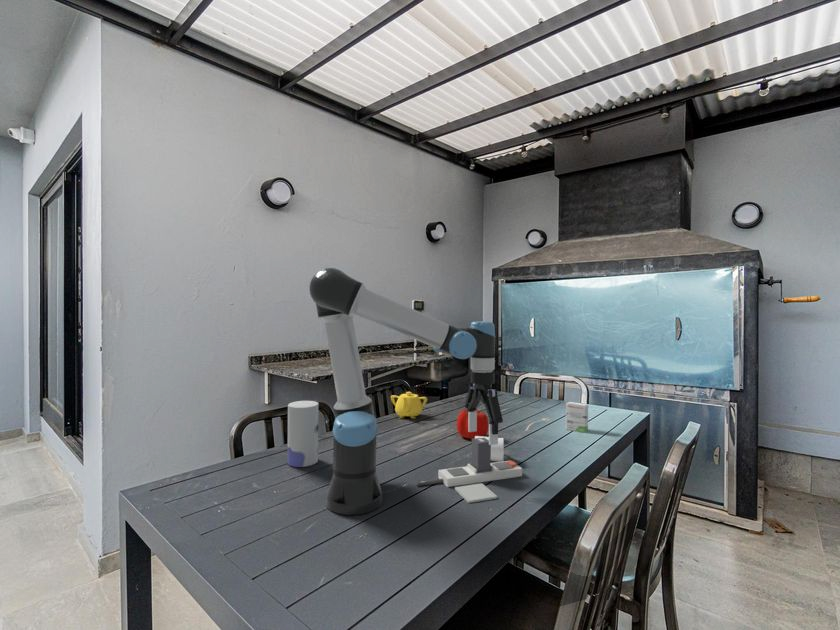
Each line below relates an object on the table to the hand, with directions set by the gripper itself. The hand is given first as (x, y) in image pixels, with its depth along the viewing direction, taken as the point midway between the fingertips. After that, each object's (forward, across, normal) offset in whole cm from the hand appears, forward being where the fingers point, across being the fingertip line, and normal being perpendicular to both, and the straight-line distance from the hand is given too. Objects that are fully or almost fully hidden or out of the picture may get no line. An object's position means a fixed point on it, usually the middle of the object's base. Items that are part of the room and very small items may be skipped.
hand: (482, 437), depth 132 cm
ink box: (+14, +32, -64) cm, 73 cm away
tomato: (+13, +37, -15) cm, 42 cm away
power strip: (+12, 0, +5) cm, 13 cm away
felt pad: (+12, -10, +8) cm, 18 cm away
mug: (+13, +14, -10) cm, 22 cm away
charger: (+10, 0, 0) cm, 10 cm away
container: (+12, +30, +52) cm, 62 cm away
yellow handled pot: (+12, +73, 0) cm, 74 cm away
